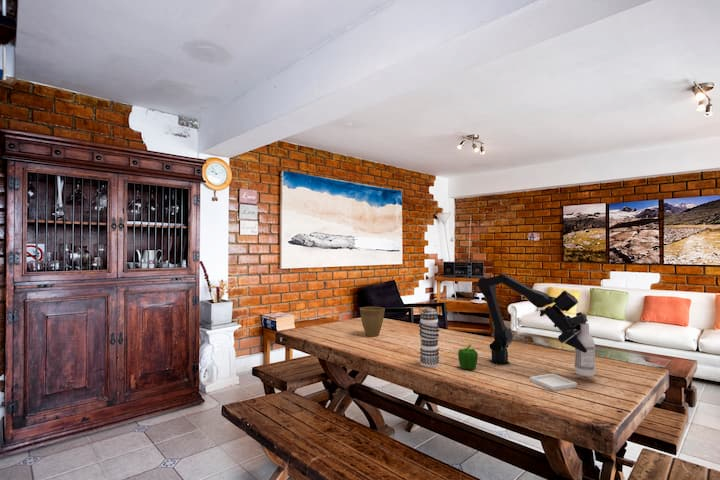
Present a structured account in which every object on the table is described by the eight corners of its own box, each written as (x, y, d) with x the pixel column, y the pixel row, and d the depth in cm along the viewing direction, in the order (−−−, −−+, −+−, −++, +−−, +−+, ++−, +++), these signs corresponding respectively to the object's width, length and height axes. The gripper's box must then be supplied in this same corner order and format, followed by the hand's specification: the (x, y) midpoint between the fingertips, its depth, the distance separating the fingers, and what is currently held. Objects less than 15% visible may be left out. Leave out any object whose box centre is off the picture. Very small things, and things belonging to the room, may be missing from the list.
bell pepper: (468, 372, 169) (468, 348, 169) (454, 367, 176) (454, 344, 176) (482, 368, 173) (482, 345, 173) (468, 364, 180) (467, 341, 180)
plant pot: (385, 338, 229) (385, 310, 229) (359, 338, 229) (359, 310, 230) (384, 332, 244) (384, 306, 244) (360, 332, 244) (359, 306, 244)
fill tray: (553, 391, 147) (552, 386, 147) (529, 380, 158) (529, 376, 158) (577, 387, 151) (577, 382, 151) (552, 377, 162) (552, 373, 162)
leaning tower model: (427, 359, 187) (426, 306, 187) (444, 363, 180) (443, 308, 181) (415, 364, 181) (414, 308, 181) (432, 368, 174) (431, 311, 174)
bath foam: (576, 369, 164) (577, 320, 164) (596, 373, 159) (596, 323, 159) (572, 374, 158) (572, 323, 158) (592, 377, 154) (592, 326, 154)
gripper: (567, 309, 154) (599, 342, 147) (580, 303, 168) (610, 333, 161) (545, 326, 160) (575, 359, 152) (560, 319, 174) (588, 349, 166)
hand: (588, 350), depth 158 cm, fingers closed on bath foam, 7 cm apart
